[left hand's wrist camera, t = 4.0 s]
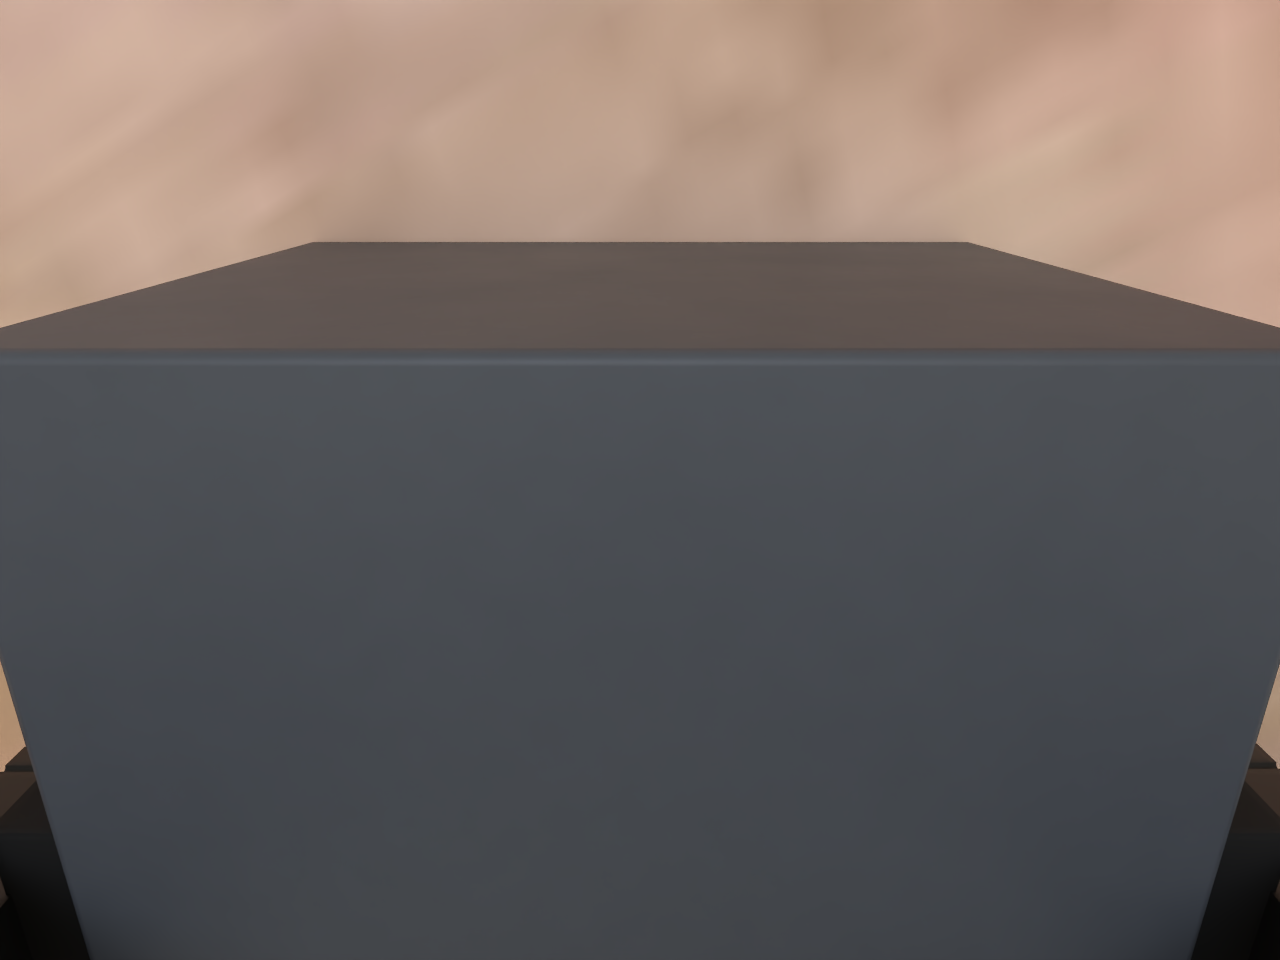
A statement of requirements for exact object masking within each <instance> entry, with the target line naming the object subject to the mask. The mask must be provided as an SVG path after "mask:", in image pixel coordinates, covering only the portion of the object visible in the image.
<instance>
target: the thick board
mask: <svg viewBox="0 0 1280 960" xmlns="http://www.w3.org/2000/svg"><path fill="white" fill-rule="evenodd" d="M0 661H1V664H2V667H3V671H4V674H5V677H6V681H7V684H8V687H9V691H10V694H11V697H12V701H13V704H14V707H15V711H16V714H17V717H18V721H19V724H20V727H21V731H22V734H23V737H24V741H25V744H26V747H27V751H28V754H29V757H30V761H31V764H32V767H33V771H34V774H35V777H36V781H37V784H38V787H39V791H40V794H41V797H42V801H43V804H44V807H45V811H46V814H47V817H48V821H49V824H50V827H51V831H52V834H53V837H54V841H55V844H56V847H57V851H58V854H59V857H60V861H61V864H62V867H63V871H64V874H65V877H66V881H67V884H68V887H69V891H70V894H71V897H72V901H73V904H74V907H75V911H76V914H77V917H78V921H79V924H80V927H81V931H82V934H83V937H84V941H85V944H86V947H87V951H88V954H89V957H90V960H1191V957H1192V954H1193V950H1194V947H1195V944H1196V940H1197V937H1198V934H1199V930H1200V927H1201V924H1202V920H1203V917H1204V914H1205V910H1206V907H1207V904H1208V900H1209V897H1210V894H1211V890H1212V887H1213V884H1214V880H1215V877H1216V874H1217V870H1218V867H1219V864H1220V860H1221V857H1222V854H1223V850H1224V847H1225V844H1226V840H1227V837H1228V834H1229V830H1230V827H1231V824H1232V820H1233V817H1234V814H1235V810H1236V807H1237V804H1238V801H1239V797H1240V794H1241V791H1242V787H1243V784H1244V781H1245V777H1246V774H1247V771H1248V767H1249V764H1250V761H1251V757H1252V754H1253V751H1254V747H1255V744H1256V741H1257V737H1258V734H1259V731H1260V727H1261V724H1262V721H1263V717H1264V714H1265V711H1266V707H1267V704H1268V701H1269V697H1270V694H1271V691H1272V687H1273V684H1274V681H1275V677H1276V674H1277V671H1278V667H1279V664H1280V328H1279V327H1275V326H1271V325H1268V324H1264V323H1260V322H1257V321H1253V320H1249V319H1246V318H1242V317H1238V316H1235V315H1231V314H1227V313H1224V312H1220V311H1216V310H1213V309H1209V308H1206V307H1202V306H1198V305H1195V304H1191V303H1187V302H1184V301H1180V300H1176V299H1173V298H1169V297H1165V296H1162V295H1158V294H1154V293H1151V292H1147V291H1144V290H1140V289H1136V288H1133V287H1129V286H1125V285H1122V284H1118V283H1114V282H1111V281H1107V280H1103V279H1100V278H1096V277H1092V276H1089V275H1085V274H1081V273H1078V272H1074V271H1071V270H1067V269H1063V268H1060V267H1056V266H1052V265H1049V264H1045V263H1041V262H1038V261H1034V260H1030V259H1027V258H1023V257H1019V256H1016V255H1012V254H1008V253H1005V252H1001V251H998V250H994V249H990V248H987V247H983V246H979V245H976V244H972V243H968V242H312V243H309V244H305V245H301V246H298V247H294V248H290V249H287V250H283V251H279V252H276V253H272V254H269V255H265V256H261V257H258V258H254V259H250V260H247V261H243V262H239V263H236V264H232V265H228V266H225V267H221V268H218V269H214V270H210V271H207V272H203V273H199V274H196V275H192V276H188V277H185V278H181V279H177V280H174V281H170V282H166V283H163V284H159V285H156V286H152V287H148V288H145V289H141V290H137V291H134V292H130V293H126V294H123V295H119V296H115V297H112V298H108V299H105V300H101V301H97V302H94V303H90V304H86V305H83V306H79V307H75V308H72V309H68V310H64V311H61V312H57V313H53V314H50V315H46V316H43V317H39V318H35V319H32V320H28V321H24V322H21V323H17V324H13V325H10V326H6V327H2V328H0Z"/></svg>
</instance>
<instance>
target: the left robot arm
mask: <svg viewBox="0 0 1280 960" xmlns="http://www.w3.org/2000/svg"><path fill="white" fill-rule="evenodd" d="M5 767H6V768H5V771H4V772H0V960H90V957H89V954H88V951H87V947H86V944H85V941H84V937H83V934H82V931H81V927H80V924H79V921H78V917H77V914H76V911H75V907H74V904H73V901H72V897H71V894H70V891H69V887H68V884H67V881H66V877H65V874H64V871H63V867H62V864H61V861H60V857H59V854H58V851H57V847H56V844H55V841H54V837H53V834H52V831H51V827H50V824H49V821H48V817H47V814H46V811H45V807H44V804H43V801H42V797H41V794H40V791H39V787H38V784H37V781H36V777H35V774H34V771H33V767H32V764H31V761H30V757H29V754H28V751H27V747H24V748H23V749H22V750H21V751H20V752H19V753H18V754H17V755H16V756H15V757H14V758H13V759H12V760H11V761H10V762H9V763H7V764H6V765H5ZM1191 960H1280V769H1278V768H1277V766H1276V762H1275V761H1274V760H1273V759H1272V758H1271V757H1270V756H1269V755H1268V754H1267V753H1266V752H1265V751H1264V750H1263V749H1262V748H1261V747H1260V746H1259V745H1258V744H1255V747H1254V751H1253V754H1252V757H1251V761H1250V764H1249V767H1248V771H1247V774H1246V777H1245V781H1244V784H1243V787H1242V791H1241V794H1240V797H1239V801H1238V804H1237V807H1236V810H1235V814H1234V817H1233V820H1232V824H1231V827H1230V830H1229V834H1228V837H1227V840H1226V844H1225V847H1224V850H1223V854H1222V857H1221V860H1220V864H1219V867H1218V870H1217V874H1216V877H1215V880H1214V884H1213V887H1212V890H1211V894H1210V897H1209V900H1208V904H1207V907H1206V910H1205V914H1204V917H1203V920H1202V924H1201V927H1200V930H1199V934H1198V937H1197V940H1196V944H1195V947H1194V950H1193V954H1192V957H1191Z"/></svg>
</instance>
